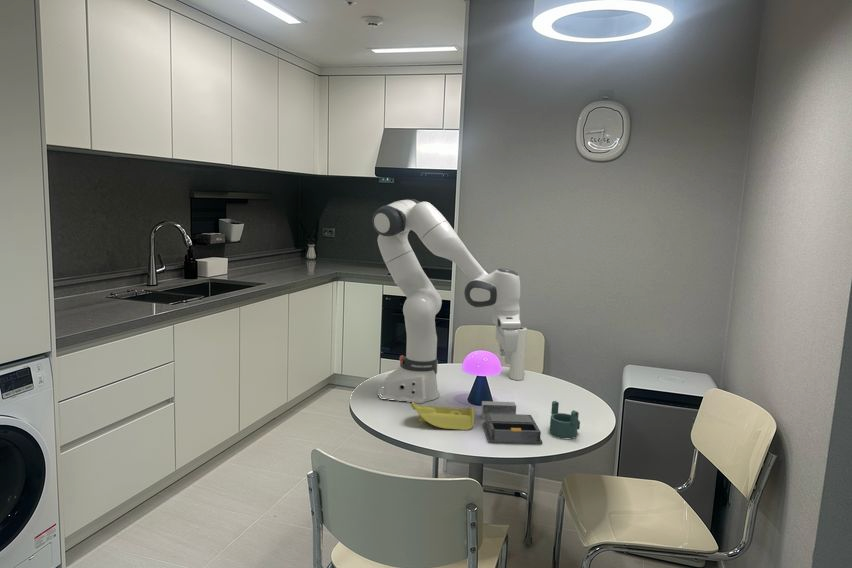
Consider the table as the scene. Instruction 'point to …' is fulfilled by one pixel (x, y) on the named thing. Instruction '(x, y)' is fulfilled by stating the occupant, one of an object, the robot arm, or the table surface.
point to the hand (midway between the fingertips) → (505, 359)
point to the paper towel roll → (519, 357)
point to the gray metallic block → (497, 408)
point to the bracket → (563, 423)
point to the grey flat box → (511, 429)
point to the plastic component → (446, 416)
